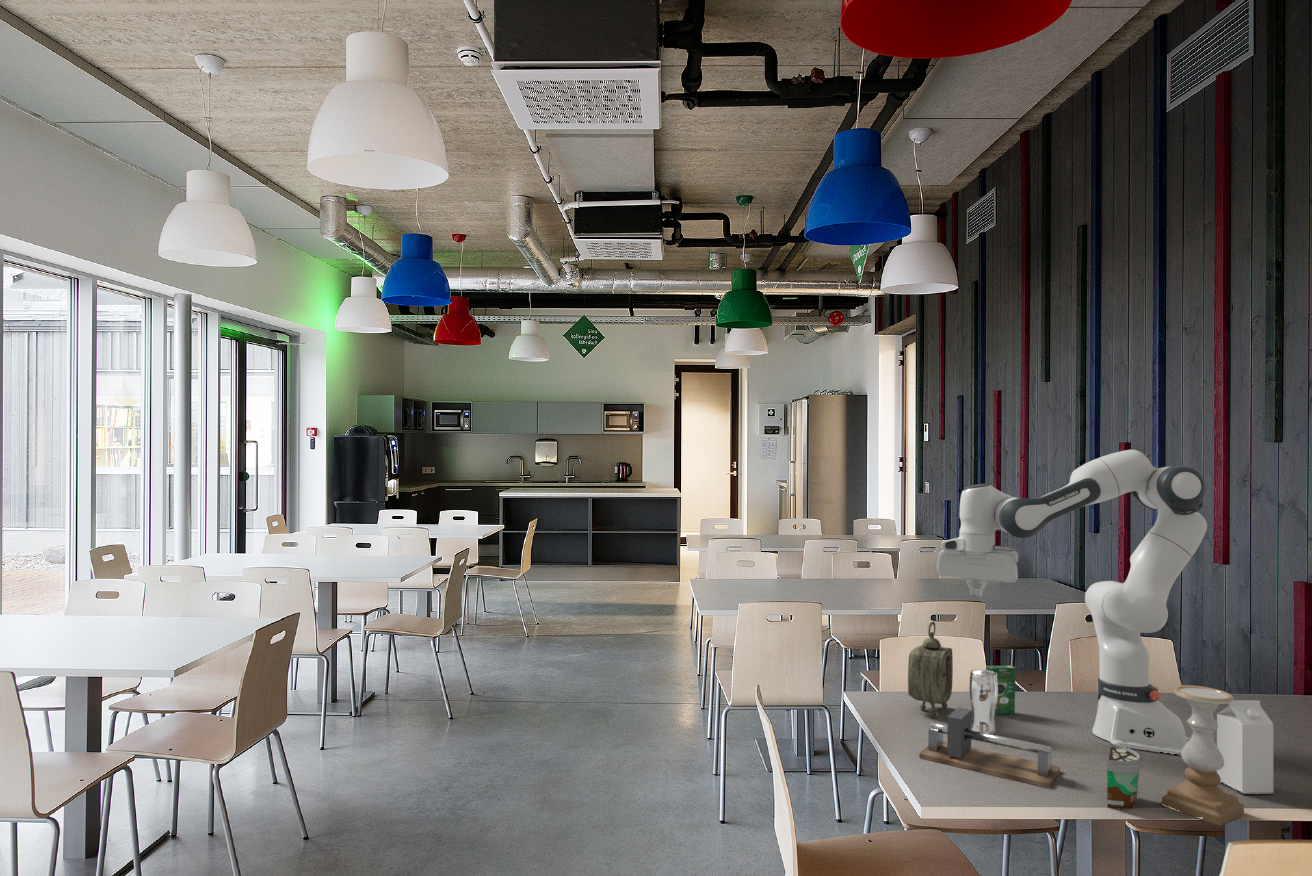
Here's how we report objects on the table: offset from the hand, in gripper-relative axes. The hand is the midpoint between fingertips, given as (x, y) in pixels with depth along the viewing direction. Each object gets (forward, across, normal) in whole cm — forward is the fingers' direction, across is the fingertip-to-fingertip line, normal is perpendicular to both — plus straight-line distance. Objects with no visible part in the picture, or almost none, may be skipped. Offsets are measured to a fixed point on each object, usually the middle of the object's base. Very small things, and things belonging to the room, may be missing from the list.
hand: (976, 596), depth 215 cm
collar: (+33, -4, +28) cm, 43 cm away
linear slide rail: (+34, -10, +28) cm, 45 cm away
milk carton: (+34, -58, +7) cm, 68 cm away
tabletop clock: (+34, +13, -3) cm, 37 cm away
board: (+34, -10, +28) cm, 45 cm away
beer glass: (+34, -3, +4) cm, 35 cm away
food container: (+34, -38, +32) cm, 60 cm away
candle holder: (+34, -51, +26) cm, 67 cm away
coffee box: (+34, -3, -14) cm, 37 cm away
